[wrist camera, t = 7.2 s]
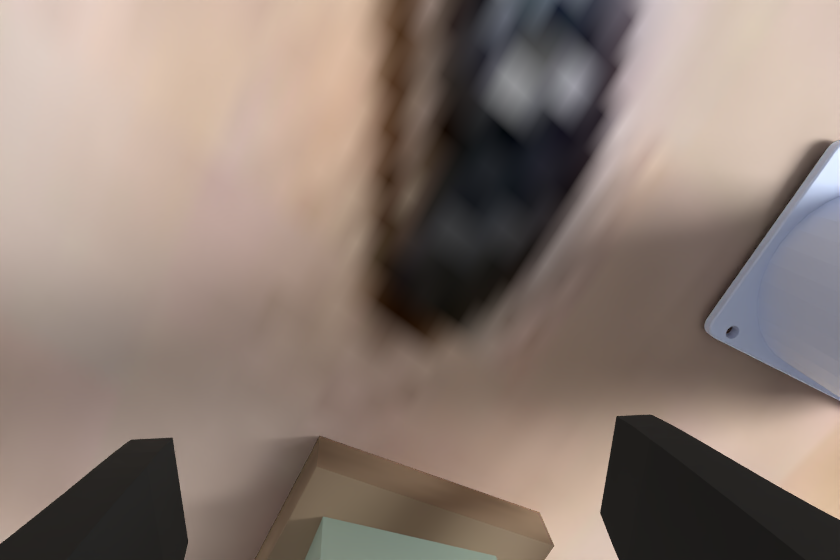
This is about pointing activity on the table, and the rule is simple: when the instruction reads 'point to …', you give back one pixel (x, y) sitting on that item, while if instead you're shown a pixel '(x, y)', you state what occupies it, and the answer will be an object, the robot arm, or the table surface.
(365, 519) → the walnut slab
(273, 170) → the table surface
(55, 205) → the table surface
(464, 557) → the sage slab
